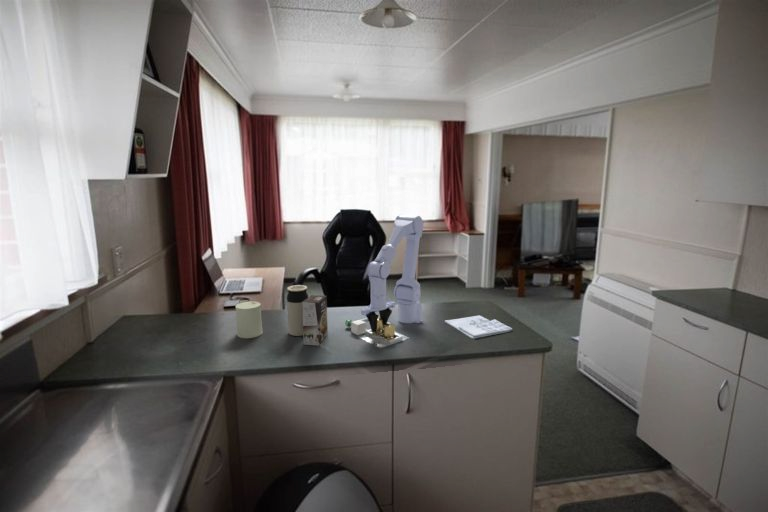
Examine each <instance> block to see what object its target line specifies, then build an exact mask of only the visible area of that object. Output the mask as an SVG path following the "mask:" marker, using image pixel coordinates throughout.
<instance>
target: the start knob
mask: <svg viewBox="0 0 768 512" xmlns="http://www.w3.org/2000/svg"><path fill="white" fill-rule="evenodd" d="M351 322H353V321H352V320H351V319H349V318H347V319H346V320H345V322H344V325H345V326H346V327H347V328H351Z"/></svg>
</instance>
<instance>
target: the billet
mask: <svg viewBox="0 0 768 512" xmlns="http://www.w3.org/2000/svg"><path fill="white" fill-rule="evenodd" d="M372 333H374V334H376V335H379V334H382V333H383V318H380V317H378V319H377V330H376V332H374V331H372Z"/></svg>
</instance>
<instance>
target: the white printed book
mask: <svg viewBox="0 0 768 512" xmlns="http://www.w3.org/2000/svg"><path fill="white" fill-rule="evenodd" d="M444 323H445V324H448V325H449V326H450V327H453V328H454V329H456V330H458V331H459V332H461V333H462V334H464V335H465V336H467V337H469V338H471V339H473V340H474V339H478V338H485V337H488V336H492V335H497V334H498V335H499V334H504V333H508V332H511V331H512V330H513V328H512V327H510V326H508V325H506V324H505V323H502V322H501V321H499V320H497V319H495V318H494V319H491V320H490V319H488V318H486V317H484V316H482V315H473V316H467V317H460V318H455V319H447V320H446V319H445V320H444Z"/></svg>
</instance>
